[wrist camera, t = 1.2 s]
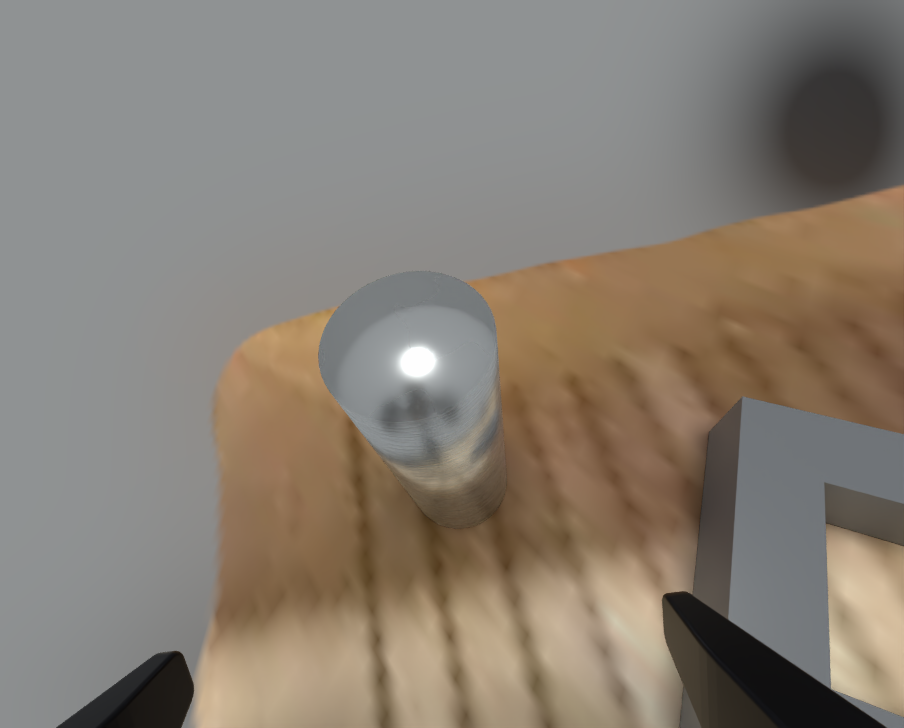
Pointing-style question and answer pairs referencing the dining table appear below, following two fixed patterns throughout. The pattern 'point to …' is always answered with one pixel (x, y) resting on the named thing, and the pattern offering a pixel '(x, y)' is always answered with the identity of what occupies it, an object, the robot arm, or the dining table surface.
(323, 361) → the steel pin
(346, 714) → the dining table surface
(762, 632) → the socket block
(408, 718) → the dining table surface
